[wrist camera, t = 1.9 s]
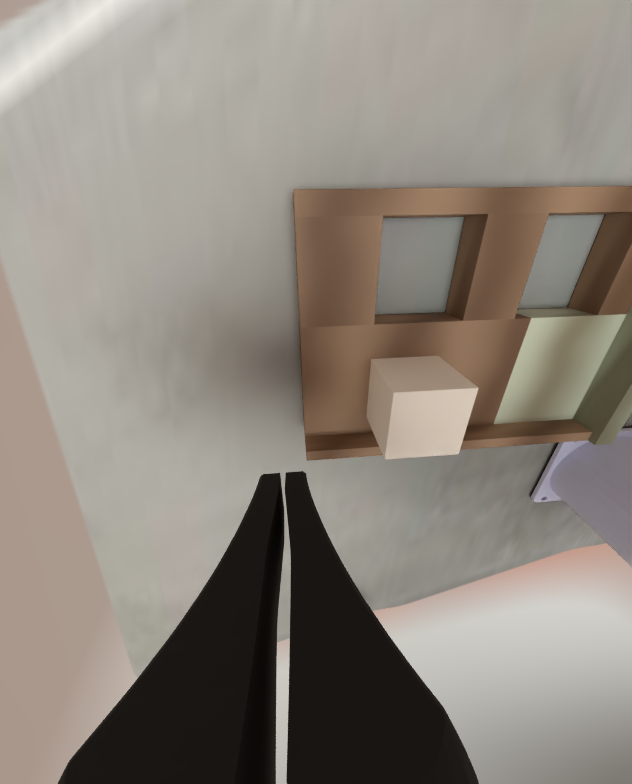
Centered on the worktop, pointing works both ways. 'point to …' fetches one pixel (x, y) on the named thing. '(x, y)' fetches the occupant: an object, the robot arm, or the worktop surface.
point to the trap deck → (467, 315)
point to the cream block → (418, 406)
